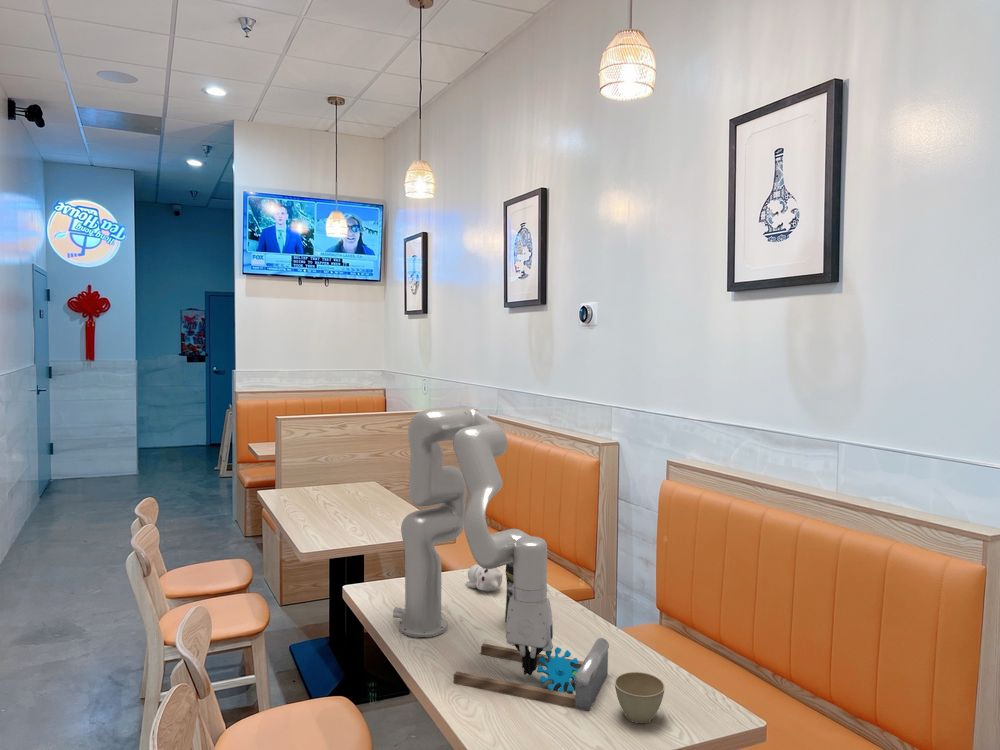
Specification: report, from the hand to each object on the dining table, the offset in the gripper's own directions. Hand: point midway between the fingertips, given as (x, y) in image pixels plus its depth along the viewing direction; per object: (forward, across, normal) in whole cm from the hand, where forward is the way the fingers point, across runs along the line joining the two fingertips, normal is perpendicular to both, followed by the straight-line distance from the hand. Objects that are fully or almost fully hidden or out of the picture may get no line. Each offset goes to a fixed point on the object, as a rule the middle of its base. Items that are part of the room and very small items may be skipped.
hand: (529, 672), depth 159 cm
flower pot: (+2, +26, -7) cm, 27 cm away
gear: (+2, +8, -1) cm, 8 cm away
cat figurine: (+2, -31, +48) cm, 57 cm away
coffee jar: (+2, -11, +26) cm, 28 cm away
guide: (+1, -1, 0) cm, 2 cm away
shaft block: (+1, +15, 0) cm, 15 cm away
